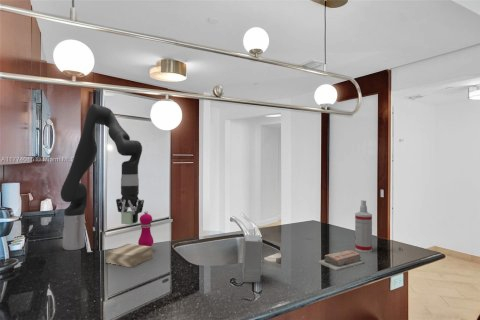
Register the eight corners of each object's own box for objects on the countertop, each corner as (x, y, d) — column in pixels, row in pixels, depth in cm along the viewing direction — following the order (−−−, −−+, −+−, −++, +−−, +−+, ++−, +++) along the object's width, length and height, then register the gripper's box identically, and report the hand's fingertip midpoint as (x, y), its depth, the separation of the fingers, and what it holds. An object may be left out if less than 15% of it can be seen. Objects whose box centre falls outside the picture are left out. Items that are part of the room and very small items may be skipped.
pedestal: (105, 263, 131) (105, 252, 131) (127, 254, 144) (128, 243, 144) (132, 267, 126) (132, 255, 126) (152, 257, 139) (152, 246, 139)
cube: (121, 223, 133) (121, 212, 133) (129, 221, 138) (129, 210, 138) (130, 224, 132) (130, 213, 132) (138, 222, 136) (137, 211, 136)
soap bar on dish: (346, 247, 140) (364, 253, 132) (346, 257, 140) (364, 264, 132) (318, 253, 131) (336, 260, 122) (318, 264, 131) (336, 271, 122)
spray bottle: (352, 249, 152) (352, 200, 152) (360, 246, 156) (360, 199, 156) (366, 253, 146) (366, 201, 146) (374, 250, 150) (374, 200, 150)
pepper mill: (144, 254, 144) (144, 212, 144) (135, 251, 148) (135, 211, 148) (156, 250, 149) (156, 210, 149) (147, 248, 154) (147, 209, 154)
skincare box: (241, 274, 118) (241, 234, 118) (259, 274, 119) (259, 234, 119) (243, 283, 110) (243, 240, 110) (262, 282, 110) (262, 239, 110)
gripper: (111, 184, 134) (111, 222, 134) (137, 185, 129) (137, 225, 129) (122, 183, 141) (122, 219, 141) (148, 184, 136) (148, 221, 136)
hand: (129, 222), depth 135 cm, fingers closed on cube, 5 cm apart
